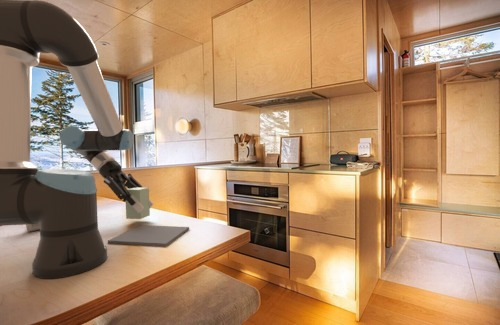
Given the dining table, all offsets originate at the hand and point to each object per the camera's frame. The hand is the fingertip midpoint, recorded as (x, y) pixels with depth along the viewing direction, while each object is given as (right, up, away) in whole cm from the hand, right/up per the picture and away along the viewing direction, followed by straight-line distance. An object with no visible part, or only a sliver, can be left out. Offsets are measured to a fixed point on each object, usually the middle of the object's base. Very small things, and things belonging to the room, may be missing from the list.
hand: (146, 208), depth 100 cm
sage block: (-4, -4, +1) cm, 5 cm away
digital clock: (-34, -7, -2) cm, 35 cm away
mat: (+8, -6, -15) cm, 18 cm away
